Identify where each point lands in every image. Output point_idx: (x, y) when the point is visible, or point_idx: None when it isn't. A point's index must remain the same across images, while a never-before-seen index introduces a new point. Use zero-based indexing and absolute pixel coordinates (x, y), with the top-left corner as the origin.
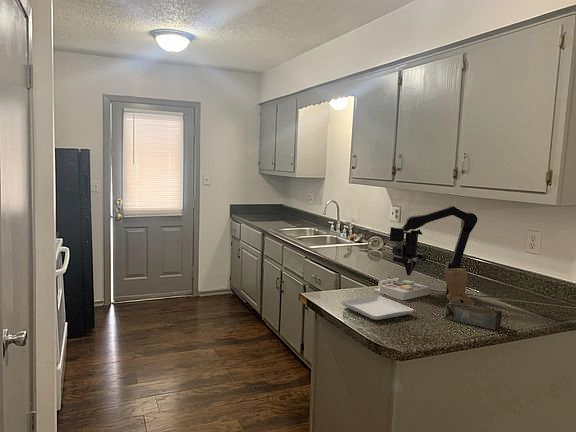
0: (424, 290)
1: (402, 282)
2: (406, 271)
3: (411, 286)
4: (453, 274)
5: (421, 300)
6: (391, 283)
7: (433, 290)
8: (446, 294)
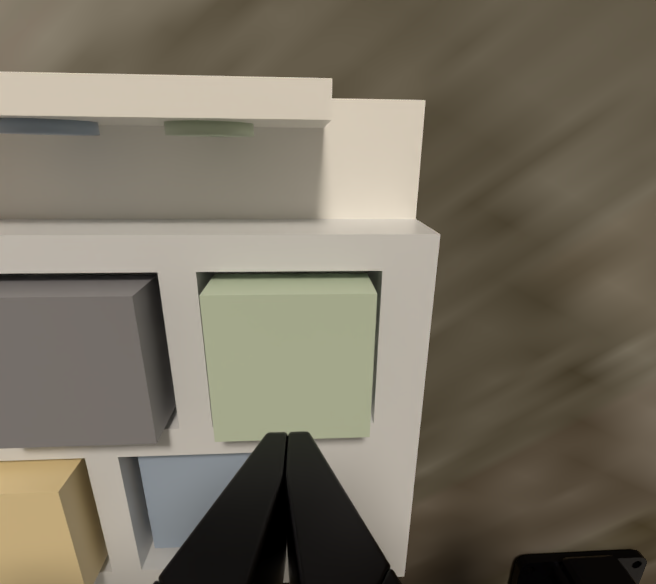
0: None
1: (124, 380)
2: (215, 510)
3: (79, 569)
4: None
5: None
6: (120, 123)
7: (586, 431)
8: (514, 572)
